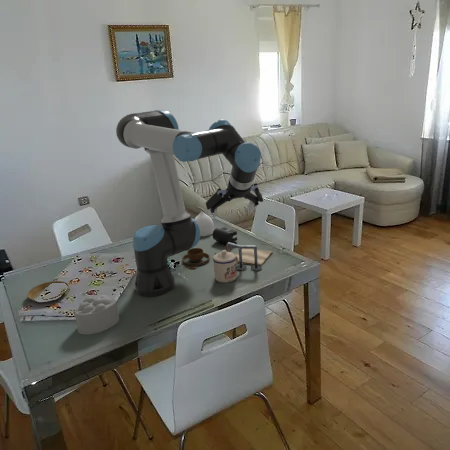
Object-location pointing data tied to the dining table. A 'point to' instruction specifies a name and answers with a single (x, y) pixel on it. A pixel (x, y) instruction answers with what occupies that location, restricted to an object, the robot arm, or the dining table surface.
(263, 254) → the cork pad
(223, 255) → the teacup with lid
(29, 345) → the dining table surface
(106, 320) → the lumpy-topped squat cylinder
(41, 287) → the plant saucer
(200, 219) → the teardrop
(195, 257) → the place setting
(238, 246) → the bent rail
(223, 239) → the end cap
